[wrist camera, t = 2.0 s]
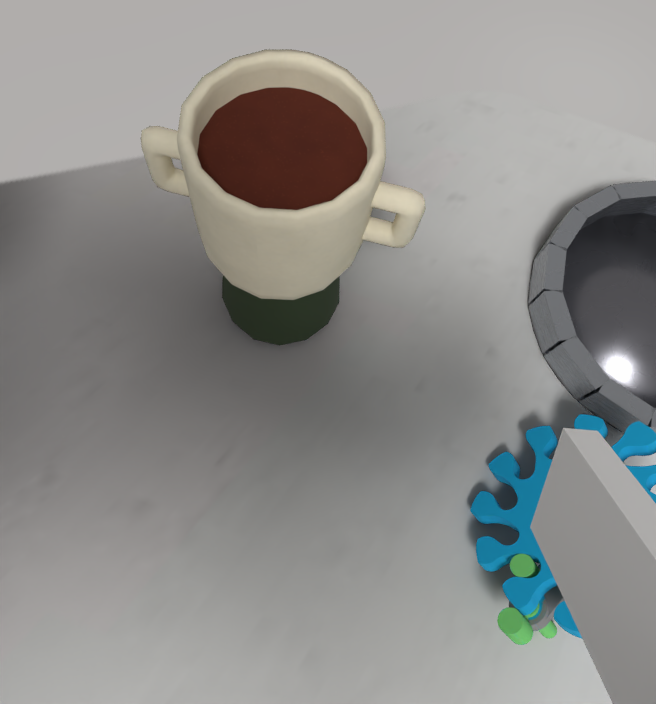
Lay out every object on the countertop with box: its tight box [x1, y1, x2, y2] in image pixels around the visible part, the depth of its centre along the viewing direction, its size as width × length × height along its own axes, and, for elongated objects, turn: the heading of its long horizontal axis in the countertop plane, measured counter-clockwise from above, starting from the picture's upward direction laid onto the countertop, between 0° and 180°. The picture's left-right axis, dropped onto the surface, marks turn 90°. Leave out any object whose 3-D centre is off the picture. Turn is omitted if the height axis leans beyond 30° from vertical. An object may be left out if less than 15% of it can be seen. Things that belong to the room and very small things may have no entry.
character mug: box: [141, 50, 425, 345], centre depth 25 cm, size 11×7×13 cm, turn 77°
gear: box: [470, 414, 656, 645], centre depth 26 cm, size 11×6×10 cm
